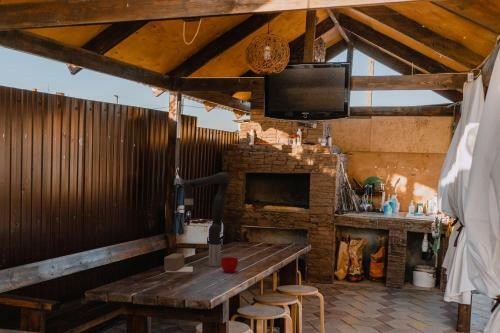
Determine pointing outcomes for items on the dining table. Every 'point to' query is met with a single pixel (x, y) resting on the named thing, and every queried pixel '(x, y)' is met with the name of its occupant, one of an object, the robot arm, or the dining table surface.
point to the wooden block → (174, 262)
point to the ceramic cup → (229, 264)
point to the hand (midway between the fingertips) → (188, 224)
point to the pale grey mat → (183, 269)
